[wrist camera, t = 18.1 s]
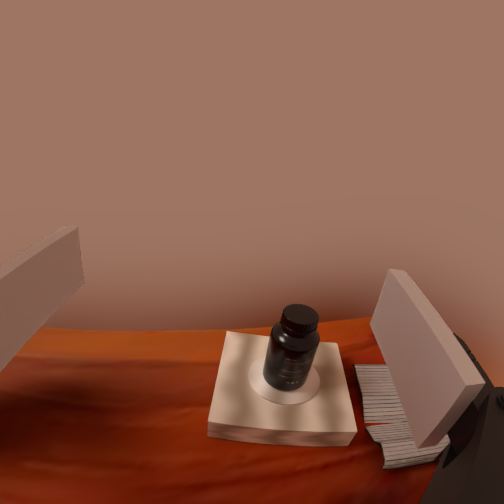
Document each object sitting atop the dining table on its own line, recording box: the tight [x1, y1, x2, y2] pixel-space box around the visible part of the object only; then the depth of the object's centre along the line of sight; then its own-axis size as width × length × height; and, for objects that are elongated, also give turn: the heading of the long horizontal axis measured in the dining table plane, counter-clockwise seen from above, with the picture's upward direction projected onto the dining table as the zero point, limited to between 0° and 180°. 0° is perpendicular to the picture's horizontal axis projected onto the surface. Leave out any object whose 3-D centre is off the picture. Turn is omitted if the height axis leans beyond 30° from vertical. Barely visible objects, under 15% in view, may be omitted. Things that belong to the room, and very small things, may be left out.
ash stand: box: [207, 331, 357, 446], centre depth 44 cm, size 20×20×4 cm
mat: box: [352, 364, 450, 470], centre depth 40 cm, size 23×24×5 cm
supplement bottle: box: [263, 304, 320, 391], centre depth 41 cm, size 7×7×12 cm
